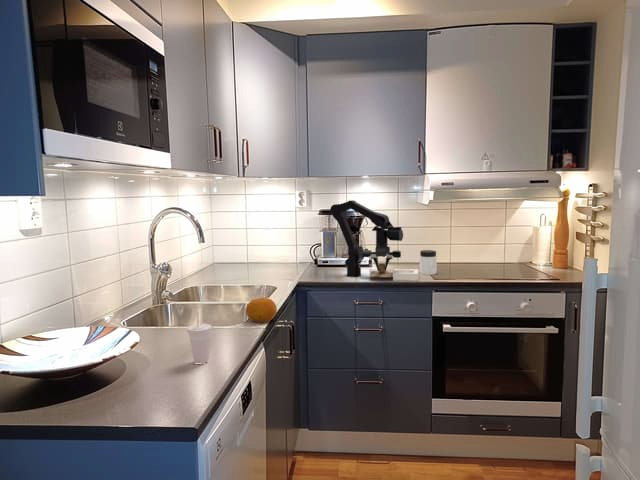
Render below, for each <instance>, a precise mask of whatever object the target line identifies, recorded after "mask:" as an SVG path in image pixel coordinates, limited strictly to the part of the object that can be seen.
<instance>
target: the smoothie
mask: <svg viewBox="0 0 640 480" xmlns="http://www.w3.org/2000/svg"><path fill="white" fill-rule="evenodd" d="M212 327H213V326H212V325H211V324H208V323H200V315H199V311H196V323H195V324H192V325H190V326H188V327H187V331H186V332H187V334H188V338H189V342H190V347H191V353H192V359H193V364H194V363H205V362H207V361H208V362H209V356H210V355H209V354H210V342H211V334H212V333H211V331H212V330H213V328H212ZM208 362H207V363H208Z"/></svg>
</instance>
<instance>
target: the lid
mask: <svg viewBox="0 0 640 480" xmlns="http://www.w3.org/2000/svg"><path fill="white" fill-rule="evenodd" d="M378 264H379V271H378V270H371V273H370V274H369V275H370V278H371V277H392V276H393V272H394V270H392V271H390V270H386V271H385V264H386V263H378Z"/></svg>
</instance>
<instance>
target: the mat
mask: <svg viewBox="0 0 640 480" xmlns="http://www.w3.org/2000/svg"><path fill="white" fill-rule="evenodd" d="M369 281H380V282H381V281H383V282H384V281H385V282H386V281H389V282H390V281H391V282H392V281H393V275H392V277H370V278H369Z"/></svg>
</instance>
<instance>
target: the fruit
mask: <svg viewBox="0 0 640 480" xmlns="http://www.w3.org/2000/svg"><path fill="white" fill-rule="evenodd" d="M277 311H278V308H277V305H276V302H275V301H273V300H272V299H270V298H268V297H260V298H253V299H252V300H250V301H249V302H248V304H247V305H246V308H245V314H246V316H247V318H248V319H249V320H251V321H253V322H255V321H257V322H256V323H266V321H267V322H269V321H271V320H273V318H275V316H276V314H277Z"/></svg>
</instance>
